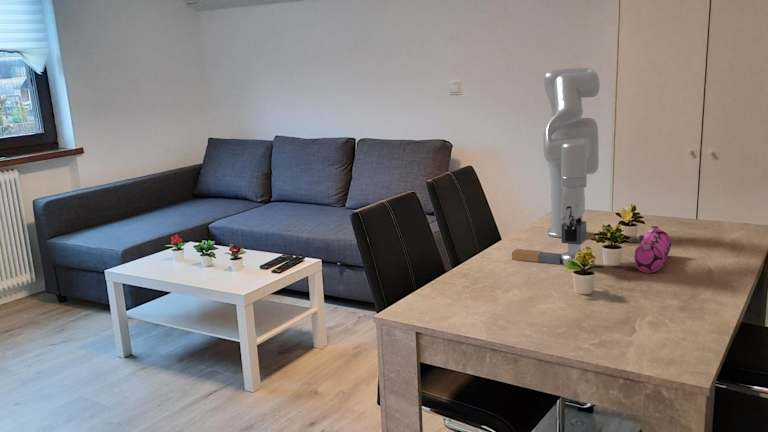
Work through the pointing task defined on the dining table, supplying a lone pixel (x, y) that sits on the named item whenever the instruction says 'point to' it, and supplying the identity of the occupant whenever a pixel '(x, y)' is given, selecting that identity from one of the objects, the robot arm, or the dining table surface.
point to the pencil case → (652, 250)
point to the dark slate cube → (580, 232)
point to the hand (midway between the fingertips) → (573, 238)
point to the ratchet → (546, 255)
